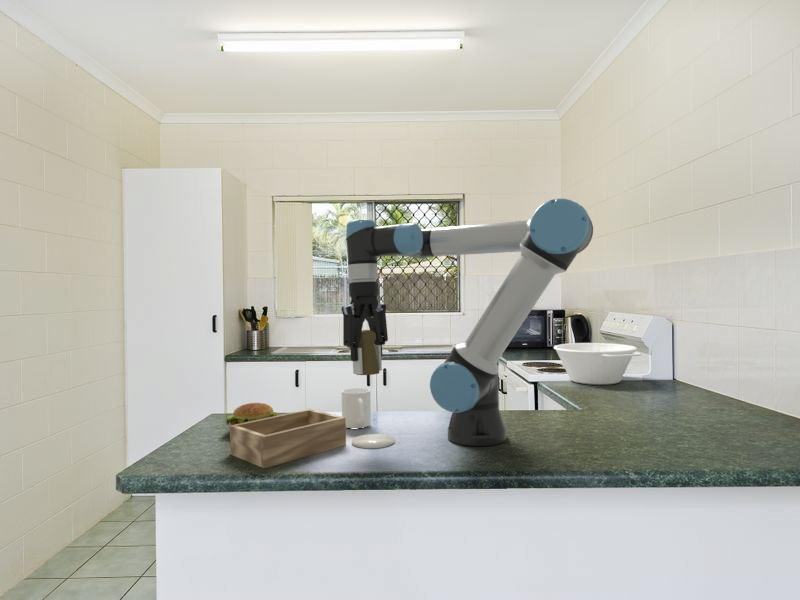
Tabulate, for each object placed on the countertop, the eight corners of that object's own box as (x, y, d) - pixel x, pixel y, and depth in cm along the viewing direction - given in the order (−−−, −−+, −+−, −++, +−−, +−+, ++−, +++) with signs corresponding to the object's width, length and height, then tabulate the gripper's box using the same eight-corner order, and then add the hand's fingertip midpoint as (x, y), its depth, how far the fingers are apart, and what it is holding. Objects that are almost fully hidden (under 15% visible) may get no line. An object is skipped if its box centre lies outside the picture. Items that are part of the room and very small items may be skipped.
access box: (346, 445, 135) (345, 417, 135) (264, 468, 118) (263, 437, 118) (309, 434, 146) (309, 408, 146) (230, 454, 129) (229, 425, 129)
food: (249, 423, 160) (249, 397, 159) (287, 428, 153) (287, 400, 153) (215, 435, 147) (214, 406, 147) (255, 440, 141) (254, 410, 141)
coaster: (403, 441, 137) (403, 439, 137) (371, 451, 129) (371, 448, 129) (374, 433, 145) (374, 431, 145) (342, 442, 137) (342, 440, 137)
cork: (355, 372, 139) (353, 330, 139) (378, 370, 139) (376, 328, 139) (356, 375, 133) (353, 331, 133) (380, 374, 133) (378, 330, 133)
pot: (534, 376, 232) (533, 344, 232) (597, 372, 241) (596, 340, 241) (591, 393, 194) (591, 354, 194) (664, 387, 203) (663, 349, 202)
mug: (377, 431, 147) (376, 394, 147) (347, 434, 145) (346, 396, 145) (367, 421, 159) (366, 387, 159) (340, 424, 157) (339, 389, 156)
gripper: (379, 281, 145) (383, 366, 145) (324, 282, 131) (329, 376, 132) (399, 280, 140) (403, 367, 140) (344, 281, 126) (349, 378, 126)
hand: (367, 371), depth 136 cm, fingers closed on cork, 6 cm apart
